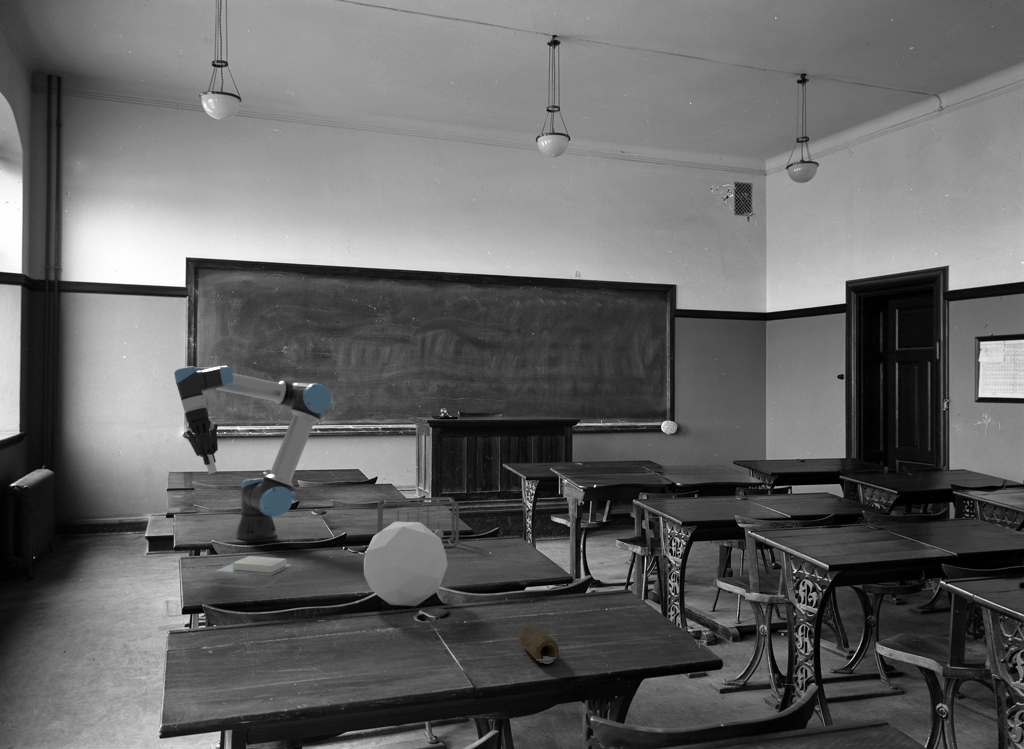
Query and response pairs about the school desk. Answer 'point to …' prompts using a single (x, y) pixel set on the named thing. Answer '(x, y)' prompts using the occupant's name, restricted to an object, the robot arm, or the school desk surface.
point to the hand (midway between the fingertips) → (213, 472)
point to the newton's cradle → (437, 532)
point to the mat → (230, 569)
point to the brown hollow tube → (538, 642)
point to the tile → (259, 564)
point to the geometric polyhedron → (405, 563)
